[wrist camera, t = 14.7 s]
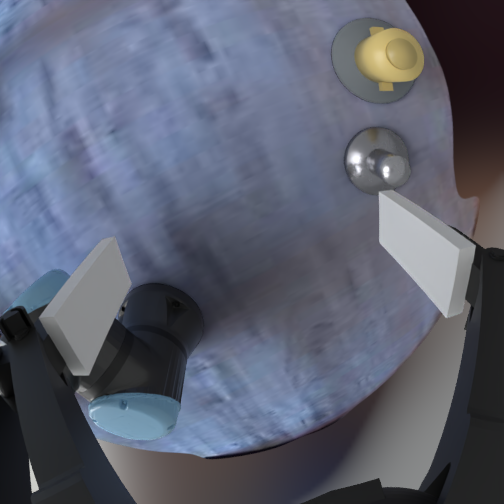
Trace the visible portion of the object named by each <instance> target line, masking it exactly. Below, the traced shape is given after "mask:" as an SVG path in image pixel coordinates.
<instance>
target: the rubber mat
mask: <svg viewBox="0 0 504 504" xmlns="http://www.w3.org/2000/svg"><path fill="white" fill-rule="evenodd" d="M371 27H383V28H384V30H386V29H389V28H394V27H393V26H391V25H390V24H388V23H386V22H383V21H381V20H377V19H372V18H362V19H357V20H354V21H352V22H350V23H348V24H347V25H345V26H344V27H343V28H341V29H340V30H339V32H338V33H337V34H336V36H335V38H334V41H333V44H332V49H331V57H332V63H333V67H334V70H335V72H336V74H337V76H338V78H339V80H340V81H341V83H342V84H343V85H344V86H345V87H346V88H347V89H348V90H349V91H350V92H351V93H352V94H354V95H355V96H357V97H359V98H361V99H363V100H365V101H368V102H373V103H390V102H394V101H396V100H398V99H400V98H402V97H403V96H404V95H406V93H407V92H408V91H409V90H410V88H411V87H412V85H413V83H414V80H415V79H414V80H411V81H406V82H392V83H393V91H380V90H379V83H376V82H373V81H370V80H369V79H367V78H366V77H364V76H363V75H362V74H361V72H360V71H359V70H358V68H357V66H356V63H355V58H354V53H355V49H356V47H357V45H358V44H359V42H360V41H362V40H363V39H365V38H367V37H370V36H371V34H370V29H369V28H371Z"/></svg>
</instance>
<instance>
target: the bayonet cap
mask: <svg viewBox="0 0 504 504" xmlns="http://www.w3.org/2000/svg"><path fill="white" fill-rule="evenodd" d="M369 29H370V34H371V36H370V37H367V38H365V39H363V40H362V41H360V42H359V44H358V45H357V47H356V49H355V53H354V58H355V63H356V66H357V68H358V70H359V71H360V72H361V74H362V75H363V76H364V77H366V78H367V79H369V80H370V81H373V82H376V83H379V90H380V91H393V83H392V82H406V81H411V80H414V79H415V78H417V77H418V76H419V75H420V73H421V72H422V70H423V66H424V55H423V51H422V49H421V46H420V45H419V43H418V42H417V40H416V39H415V38H414V37H413V36H412V35H411V34H409V33H408V32H406V31H404V30H401V29H397V28H389V29H386V30H384V28H383V27H371V28H369Z"/></svg>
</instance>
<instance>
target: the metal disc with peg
mask: <svg viewBox="0 0 504 504" xmlns="http://www.w3.org/2000/svg"><path fill="white" fill-rule="evenodd" d="M408 162H409V159H408V152H407V149H406V146H405V144H404V143H403V141H402V140H401V138H400V137H399V136H398V135H397V134H395V133H394V132H392V131H390V130H388V129H384V128H380V127H370V128H366V129H364V130H362V131H360V132H358V133H357V134H356V135H355V136H354V137H353V138H352V139H351V141H350V142H349V144H348V146H347V148H346V151H345V157H344V165H345V170H346V173H347V175H348V177H349V179H350V180H351V182H352V183H353V184H354V185H355V186H356V187H357V188H359V189H360V190H361V191H363V192H365V193H367V194H371V195H379V191H387V190H394V189H396V188H397V187H398V186H402V185H403V184H405V183H406V182H407V181H408V179H409V177H410V173H411V168H410V165H409V163H408Z"/></svg>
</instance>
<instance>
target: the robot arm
mask: <svg viewBox="0 0 504 504" xmlns="http://www.w3.org/2000/svg"><path fill="white" fill-rule="evenodd" d="M379 243H380V244H381V245H382V246H383V247H384V248H385V249H386V250H387V251H388V252H389V253H390V254H391V256H392V257H393V258H394V259H395V260H396V261H397V262H398V263H399V264H400V265H401V266H402V267H403V269H404V270H405V271H406V272H407V273H408V274H409V275H410V276H411V277H412V279H413V280H414V281H415V282H416V283H417V284H418V285H419V287H420V288H421V289H422V290H423V291H424V292H425V293H426V295H427V296H428V297H429V298H430V299H431V300H432V302H433V303H434V304H435V305H436V306H437V308H438V309H439V310H440V311H441V312H442V314H443V315H444V316H445V317H446V318H449V317H452V316H455V315H457V314H461V313H462V311H463V307H464V303H465V299H466V300H467V301H468V302H469V303H470V304H471V307H470V311H469V314H468V318H467V321H466V325H465V328H464V329H465V330H466V337H465V343H464V349H463V354H462V360H461V365H460V370H459V374H458V379H457V383H456V387H455V392H454V396H453V399H452V403H451V407H450V410H449V414H448V417H447V421H446V424H445V427H444V430H443V434H442V437H441V440H440V443H439V445H438V448H437V451H436V454H435V457H434V459H433V462H432V465H431V467H430V469H429V472H428V473H427V475H426V477H425V479H424V480H423V482H422V484H421V486H420V488H419V490H414V489H408V488H400V487H396V488H395V487H385V488H382V486H381V482H380V480H379V478H378V479H375V480H371V481H368V482H365V483H361V484H357V485H353V486H350V487H345V488H341V489H337V490H333V491H330V492H327V493H325V494H323V495H321V496H318V497H316V498H314V499H311V500H309V501H306V502H304V503H301V504H504V250H503V249H499V248H487V249H484V248H483V247H481V246H480V245H478V244H477V243H476V242H475V241H473V240H472V239H469V237H468V236H466V235H465V234H463V233H462V232H460V231H459V230H458V229H456V228H454V227H451V226H449V225H446V224H445V223H443V222H442V221H440V220H439V219H437V218H436V217H434V216H433V215H431V214H430V213H428V212H427V211H425V210H424V209H422V208H421V207H419V206H418V205H416V204H414V203H413V202H411V201H410V200H408V199H406V198H405V197H403V196H402V195H400V194H398V193H397V192H395V191H393V190H387V191H379ZM131 284H132V283H131V281H130V278H129V275H128V273H127V270H126V267H125V264H124V262H123V259H122V256H121V253H120V250H119V247H118V244H117V241H116V238H115V237H110V238H105V239H102V240H101V241H100V242H99V243H98V244H97V246H96V247H95V248H94V249H93V250H92V251H91V252H90V254H89V255H88V256H87V257H86V258H85V260H84V261H83V262H82V263H81V264H80V266H79V267H78V268H77V269H76V270H75V272H74V273H73V274H72V275H71V276H69V275H68V274H67V273H66V272H65V271H63V270H61V269H54V270H51V271H49V272H47V273H46V274H44V275H43V276H42V277H40V278H39V279H38V280H37V281H35V282H34V283H33V284H32V285H31V286H30V287H29V288H27V289H26V290H25V291H24V292H23V293H22V294H21V295H20V296H19V297H18V298H17V299H16V300H15V301H14V302H13V304H12V305H11V306H10V307H9V308H8V309H7V310H6V311H5V312H4V313H3V315H2V316H1V317H0V329H1V331H2V333H3V334H2V336H1V337H0V504H136V502H135V501H134V499H133V498H132V496H131V495H130V494H129V492H128V491H127V489H126V488H125V486H124V485H123V483H122V482H121V480H120V479H119V477H118V475H117V474H116V472H115V471H114V469H113V467H112V466H111V464H110V463H109V461H108V459H107V457H106V456H105V454H104V452H103V450H102V449H101V447H100V445H99V443H98V441H97V439H96V438H95V436H94V434H93V432H92V430H91V428H90V426H89V424H88V422H87V420H86V418H85V416H84V414H83V412H82V410H81V408H80V406H79V404H78V401H77V399H76V397H75V395H74V394H75V392H77V393H79V394H80V395H81V396H83V397H84V398H85V399H87V400H88V401H89V402H90V404H89V406H88V408H89V416H90V418H91V419H92V420H93V422H94V423H95V424H96V425H97V426H99V427H100V428H102V429H103V430H105V431H107V432H109V433H112V434H114V435H117V436H120V437H124V438H128V439H136V440H154V439H158V438H162V437H164V436H166V435H168V434H169V433H171V432H172V431H173V429H174V428H175V425H176V421H177V417H178V413H179V411H180V409H181V405H180V404H181V397H182V390H183V383H184V376H185V370H186V363H187V359H188V358H189V356H190V355H191V354H192V352H193V351H194V349H195V348H196V346H197V345H198V344H199V342H200V340H201V337H202V331H203V317H202V313H201V311H200V309H199V307H198V306H197V304H196V303H195V302H194V301H193V300H192V299H191V298H190V297H189V296H188V295H186V294H185V293H183V292H182V291H180V290H178V289H176V288H173V287H171V286H167V285H162V284H146V285H142V286H139V287H137V288H135V289H133V290H132V291H131V292H129V293H128V294H127V292H128V290H129V288H130V286H131ZM126 294H127V296H126ZM125 296H126V297H125ZM124 298H125V299H124ZM123 300H124V301H123ZM122 302H123V303H122ZM121 304H122V305H121ZM120 306H121V307H120ZM119 308H120V310H119ZM118 310H119V315H118V320H117V319H116V318H115V317H116V315H117V312H118ZM29 459H30V462H31V465H32V469H33V472H34V475H35V478H36V481H37V484H38V487H39V490H38V491H36V492H34V493H32V491H31V482H30V469H29Z"/></svg>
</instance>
